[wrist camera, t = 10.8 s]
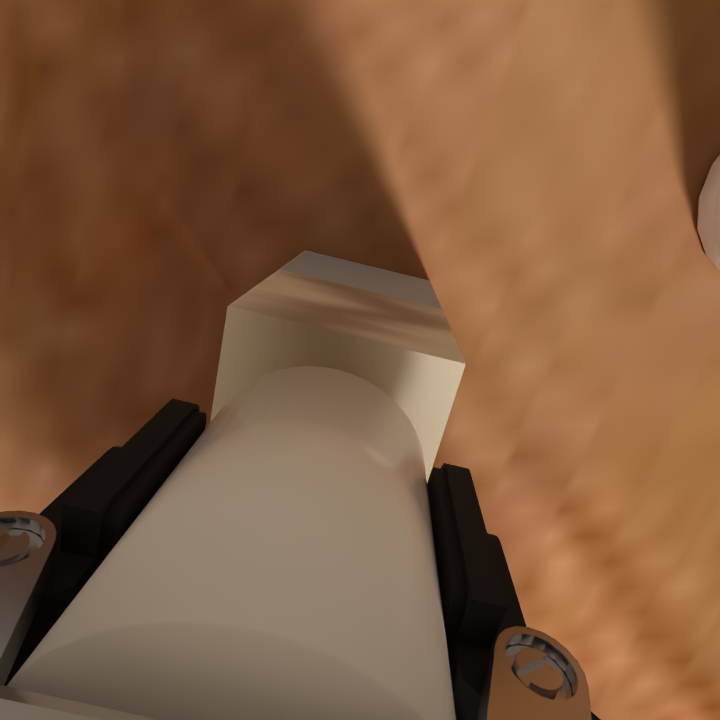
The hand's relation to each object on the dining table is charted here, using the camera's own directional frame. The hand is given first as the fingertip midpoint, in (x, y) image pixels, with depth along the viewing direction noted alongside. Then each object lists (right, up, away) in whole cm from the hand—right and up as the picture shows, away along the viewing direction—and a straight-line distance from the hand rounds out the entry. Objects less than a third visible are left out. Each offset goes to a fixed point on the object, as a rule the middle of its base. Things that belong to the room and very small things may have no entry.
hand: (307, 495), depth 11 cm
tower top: (+1, +3, +8) cm, 8 cm away
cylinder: (0, 0, +1) cm, 1 cm away
